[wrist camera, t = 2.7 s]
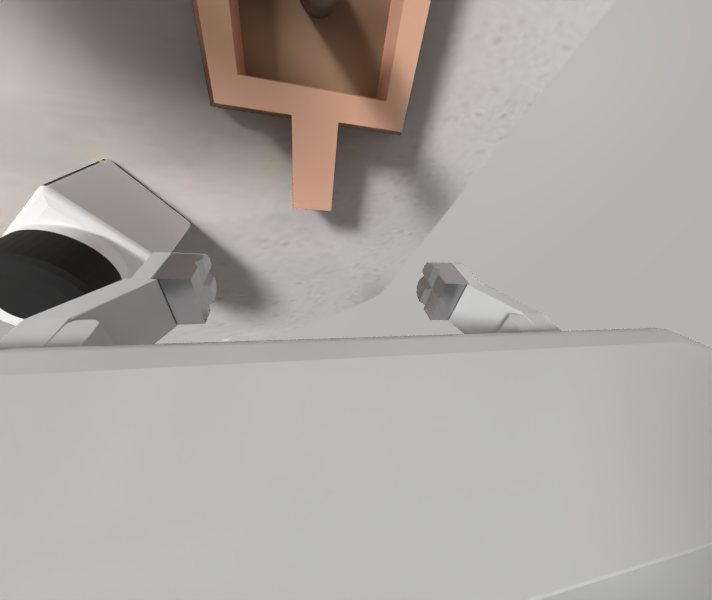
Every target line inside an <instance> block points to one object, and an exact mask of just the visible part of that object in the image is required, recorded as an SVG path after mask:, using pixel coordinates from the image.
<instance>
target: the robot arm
mask: <svg viewBox="0 0 712 600" xmlns="http://www.w3.org/2000/svg"><path fill="white" fill-rule="evenodd" d="M211 266H212V264H211V260H210V257H209V256H208V255H207V254H196V253H177V252H174V253H173V252H154V253H153V254H152V255H151V256H150V257H149V258H148V259H147V260H146V262H145V263H144V264H143V265H142V266H141V267H140V268H139V270H138V271H137V272H136V273H135V274H134V275H133V276H132V278H131V279H122V280H120V281H118V282H115V283H113V284H110V285H108V286H105V287H103V288H100V289H98V290H95V291H93V292H90V293H88V294H85V295H83V296H80V297H78V298H75V299H73V300H70V301H68V302H66V303H63V304H61V305H58V306H56V307H53V308H51V309H48V310H46V311H43V312H41V313H38V314H36V315H33V316H31V317H28V318H26V319H24V320H23V321H21V322H20V323H19V324H18V325H17V326H16V327H14V328H13V329H12V330H11V331H10V332H9V333H7V334H6V335H5V336H4V337H3V338H2V339H0V600H712V348H710V347H708V346H706V345H703V344H701V343H699V342H696V341H694V340H692V339H689V338H687V337H684V336H682V335H679V334H677V333H674V332H672V331H669V330H666V329H658V328H644V329H612V330H585V331H584V330H583V331H561V330H560V329H559V328H558V327H557V326H556V325H555V324H554V323H553V322H552V321H550V319H548V318H547V317H546V316H545V315H544V314H543V313H541V312H539V311H537V310H535V309H533V308H531V307H529V306H527V305H525V304H523V303H521V302H519V301H517V300H515V299H513V298H511V297H509V296H507V295H505V294H503V293H501V292H499V291H497V290H495V289H493V288H491V287H489V286H487V285H482V284H481V283H480V282H479V281H478V279H476V277H475V276H474V275H473V274H472V273H471V272H470V271H469V270H468V268H467V267H466V266H465V265H464V264H462V263H426V265H425V266H424V268H423V271H422V272H423V274H424V276H423V277H422V278H421V279H420V280H419V282H418V285H417V296H418V299H419V301H420V302H421V303H423V304H424V305H425V307H424V310H425V312H426V314H427V315H428V317H429V319H430V320H449V321H450V322H451V323H452V324H453V325H454V326H456V327H457V328H458V329H459V330H461V331H462V332H463V333H464V334H456V335H426V336H394V337H365V338H330V339H298V340H267V341H235V342H203V343H172V344H155V343H156V342H157V341H158V340H160V339H161V338H162V337H163V336H165V335H166V334H167V333H168V332H170V331H171V330H172V329H173V328H175V327H176V326H177V325H179V324H204V323H206V320H207V318H208V315H209V313H210V306H209V304H211V303H212V302H214V300H215V297H216V290H217V286H216V279H215V276H214V275H213V274H212V273H211V272H209V271H210V269H211Z"/></svg>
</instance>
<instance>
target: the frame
mask: <svg viewBox="0 0 712 600" xmlns="http://www.w3.org/2000/svg"><path fill="white" fill-rule="evenodd" d="M430 2H431V0H391V4H390V11H389V17H388V24H387V30H386V37H385V43H384V50H383V56H382V63H381V69H380V76H379V83H378V89H377V96H376V98H370V97H365V96H359V95H354V94H348V93H343V92H337V91H332V90H326V89H321V88H315V87H310V86H304V85H299V84H293V83H288V82H282V81H277V80H271V79H266V78H260V77H255V76H249V75H246V74H245V64H244V55H243V45H242V35H241V25H240V16H239V6H238V0H197V6H198V11H199V17H200V23H201V29H202V35H203V41H204V46H205V52H206V58H207V64H208V70H209V76H210V81H211V87H212V93H213V99H214V103H218V104H224V105H231V106H237V107H244V108H250V109H256V110H263V111H269V112H276V113H282V114H289V115H292V164H293V208H299V209H312V210H324V211H331V206H332V194H333V182H334V170H335V157H336V145H337V133H338V122H340V123H346V124H353V125H359V126H366V127H372V128H379V129H385V130H391V131H398V132H402V129H403V125H404V120H405V116H406V111H407V107H408V102H409V98H410V93H411V88H412V84H413V79H414V75H415V70H416V66H417V61H418V57H419V52H420V47H421V43H422V38H423V34H424V29H425V25H426V20H427V16H428V11H429V6H430Z"/></svg>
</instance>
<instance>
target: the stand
mask: <svg viewBox="0 0 712 600" xmlns="http://www.w3.org/2000/svg"><path fill="white" fill-rule="evenodd" d="M390 4H391V0H238V6H239V16H240V25H241V35H242V45H243V55H244V64H245V74H246V75H249V76H255V77H260V78H266V79H271V80H277V81H282V82H288V83H293V84H299V85H304V86H310V87H315V88H321V89H326V90H332V91H337V92H343V93H348V94H354V95H359V96H365V97H370V98H376V96H377V89H378V83H379V76H380V69H381V63H382V56H383V50H384V43H385V37H386V30H387V24H388V17H389V11H390ZM192 5H193V10H194V16H195V21H196V27H197V33H198V38H199V44H200V49H201V55H202V60H203V66H204V72H205V77H206V83H207V88H208V94H209V99H210V105H211V106H213V107H220V108H226V109H233V110H239V111H246V112H252V113H259V114H265V115H272V116H278V117H285V118H292V115H289V114H282V113H276V112H269V111H263V110H256V109H250V108H244V107H237V106H231V105H224V104H218V103H214V99H213V93H212V87H211V81H210V76H209V70H208V64H207V58H206V52H205V46H204V41H203V35H202V29H201V23H200V17H199V11H198V6H197V0H192ZM338 126H344V127H351V128H357V129H364V130H370V131H377V132H383V133H390V134H396V135H401V132H398V131H391V130H385V129H379V128H372V127H366V126H359V125H353V124H346V123H340V122H338Z"/></svg>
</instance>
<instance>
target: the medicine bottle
mask: <svg viewBox="0 0 712 600" xmlns="http://www.w3.org/2000/svg"><path fill="white" fill-rule="evenodd" d="M190 226H191V225H190V222H189V221H187V220H186V219H185V218H184V217H182V216H181V215H180V214H178V213H177V212H176V211H175V210H173V209H172V208H171V207H169V206H168V205H167V204H166V203H164V202H163V201H162V200H160V199H159V198H158V197H157V196H155V195H154V194H153V193H151V192H150V191H149V190H148V189H146V188H145V187H144V186H142V185H141V184H140V183H139V182H137V181H136V180H135V179H133V178H132V177H131V176H130V175H128V174H127V173H126V172H125V171H123V170H122V169H121V168H119V167H118V166H117V165H116V164H114V163H113V162H112V161H110V160H108V159H103V160H101V161H98V162H96V163H93V164H91V165H89V166H86V167H84V168H82V169H79V170H77V171H75V172H72V173H70V174H67V175H65V176H63V177H60V178H58V179H56V180H53V181H51V182H49V183H46V184H44V185H42V186H40V187H39V188H38V189H37V191H36V192H35V193H34V195H33V196H32V197H31V198H30V200H29V201H28V202H27V204H26V205H25V206H24V208H23V209H22V210H21V212H20V213H19V214H18V216H17V217H16V218H15V220H14V221H13V222H12V224H11V225H10V226H9V228H8V229H7V230H6V232H5V233H4V234H3V236H2V237H1V238H0V320H2V321H5V322H7V323H10V324H12V325H15V326H17V325H18V324H19V323H20V322H21V321H23V320H24V319H26V318H28V317H31V316H33V315H36V314H38V313H41V312H43V311H46V310H48V309H51V308H53V307H56V306H58V305H61V304H63V303H66V302H68V301H70V300H73V299H75V298H78V297H80V296H83V295H85V294H88V293H90V292H93V291H95V290H98V289H100V288H103V287H105V286H108V285H110V284H113V283H115V282H118V281H120V280H122V279H131V278H132V276H133V275H134V274H135V273H136V272H137V271H138V270H139V268H140V267H141V266H142V265H143V264H144V263H145V262H146V260H147V259H148V258H149V257H150V256H151V255H152V254H153V253H154V252H172V251H173V250H174V248H175V247H176V246H177V244H178V243H179V242H180V240H181V239H182V237H183V236H184V235H185V233H186V232H187V231H188V229H189V228H190Z"/></svg>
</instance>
